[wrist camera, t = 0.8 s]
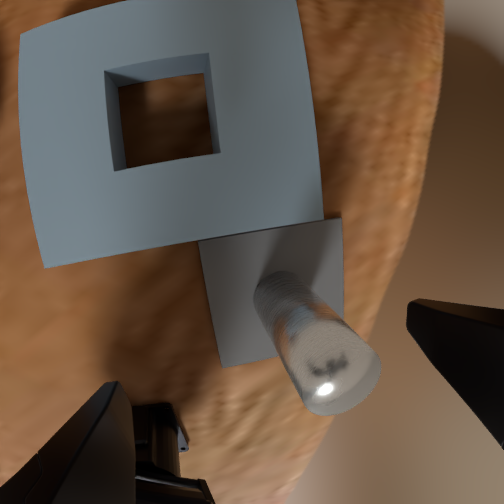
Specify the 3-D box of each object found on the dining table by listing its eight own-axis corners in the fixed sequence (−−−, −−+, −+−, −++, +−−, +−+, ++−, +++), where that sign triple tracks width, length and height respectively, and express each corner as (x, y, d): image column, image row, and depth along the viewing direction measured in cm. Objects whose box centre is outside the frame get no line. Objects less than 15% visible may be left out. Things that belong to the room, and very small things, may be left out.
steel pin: (308, 315, 23) (376, 399, 14) (256, 327, 23) (303, 425, 13) (305, 266, 22) (385, 336, 13) (249, 276, 22) (301, 362, 12)
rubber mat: (340, 336, 25) (342, 338, 25) (221, 365, 23) (222, 368, 23) (339, 217, 22) (341, 218, 22) (197, 240, 20) (198, 241, 20)
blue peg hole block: (299, 208, 21) (323, 219, 18) (66, 249, 19) (44, 268, 15) (274, 15, 17) (293, -10, 13) (44, 52, 14) (20, 34, 11)
